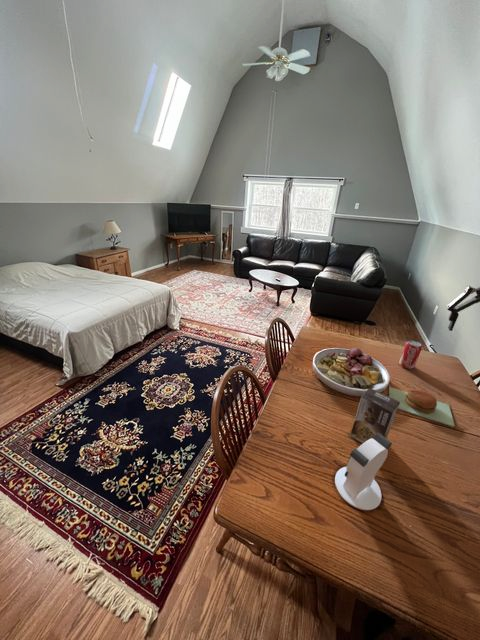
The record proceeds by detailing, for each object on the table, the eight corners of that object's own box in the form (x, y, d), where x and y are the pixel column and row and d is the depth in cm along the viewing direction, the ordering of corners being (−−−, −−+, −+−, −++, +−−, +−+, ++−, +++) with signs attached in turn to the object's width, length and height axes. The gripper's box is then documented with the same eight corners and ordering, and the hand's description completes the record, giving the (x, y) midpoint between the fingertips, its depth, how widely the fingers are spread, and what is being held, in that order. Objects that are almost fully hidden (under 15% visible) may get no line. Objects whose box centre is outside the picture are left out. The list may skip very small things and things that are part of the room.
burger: (439, 416, 94) (443, 406, 92) (410, 411, 96) (414, 401, 94) (427, 397, 103) (431, 388, 101) (401, 393, 104) (404, 384, 102)
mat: (448, 405, 100) (448, 404, 100) (454, 427, 90) (455, 426, 90) (389, 387, 108) (389, 386, 108) (388, 406, 98) (389, 405, 98)
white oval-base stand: (354, 459, 78) (366, 420, 71) (391, 493, 69) (410, 453, 63) (325, 479, 71) (337, 439, 65) (363, 519, 63) (380, 478, 57)
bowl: (381, 412, 95) (388, 395, 92) (301, 382, 109) (304, 366, 105) (389, 371, 118) (394, 356, 115) (322, 350, 132) (325, 336, 129)
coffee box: (386, 442, 84) (401, 402, 77) (378, 454, 79) (394, 413, 73) (357, 424, 89) (369, 386, 83) (348, 435, 85) (360, 395, 78)
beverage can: (397, 366, 122) (406, 343, 117) (399, 360, 127) (407, 338, 122) (413, 371, 119) (422, 348, 114) (414, 365, 124) (423, 342, 119)
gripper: (455, 272, 88) (433, 329, 97) (559, 286, 78) (522, 348, 87) (451, 267, 94) (430, 321, 103) (546, 279, 84) (514, 338, 93)
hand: (472, 334), depth 95 cm, fingers open, 13 cm apart
